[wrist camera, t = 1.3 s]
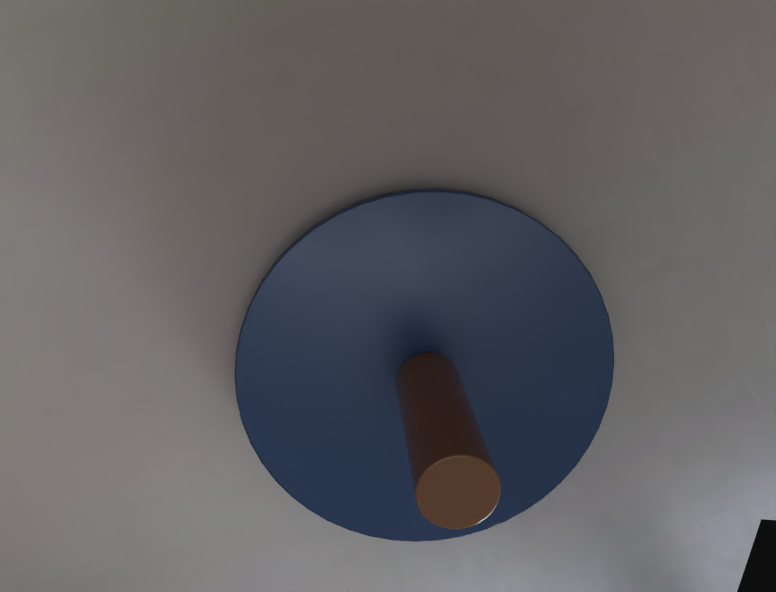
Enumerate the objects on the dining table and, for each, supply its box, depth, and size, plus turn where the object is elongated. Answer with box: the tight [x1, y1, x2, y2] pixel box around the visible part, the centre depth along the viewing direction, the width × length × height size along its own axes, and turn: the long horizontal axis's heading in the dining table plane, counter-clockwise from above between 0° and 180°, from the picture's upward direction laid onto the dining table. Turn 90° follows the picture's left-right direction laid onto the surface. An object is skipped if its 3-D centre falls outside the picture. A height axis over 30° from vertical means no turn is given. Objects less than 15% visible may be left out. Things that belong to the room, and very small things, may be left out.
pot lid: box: [235, 189, 614, 541], centre depth 25 cm, size 16×16×9 cm
